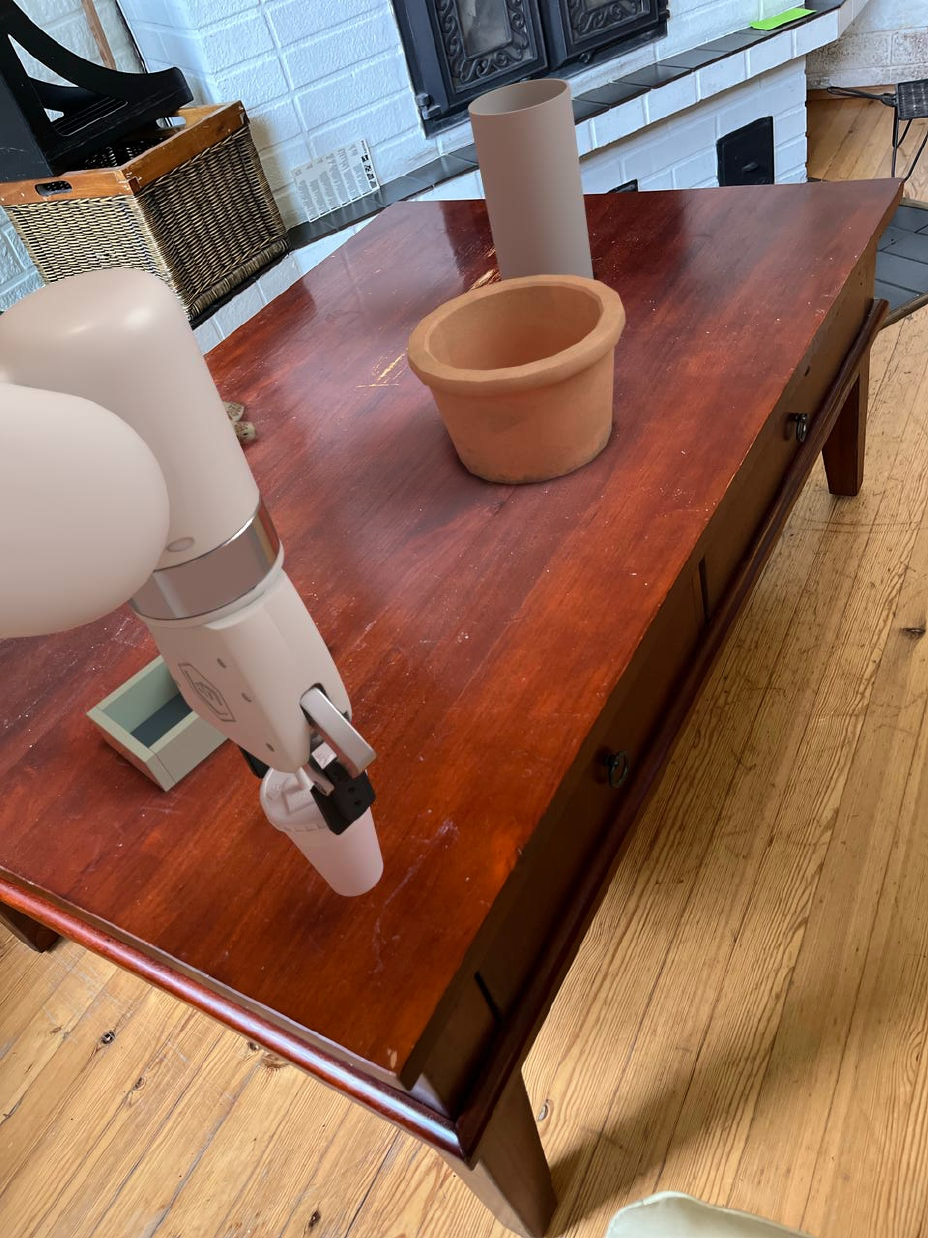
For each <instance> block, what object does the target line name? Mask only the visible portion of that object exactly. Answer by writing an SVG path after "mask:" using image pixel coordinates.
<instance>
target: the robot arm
mask: <svg viewBox="0 0 928 1238" xmlns="http://www.w3.org/2000/svg"><path fill="white" fill-rule="evenodd" d="M187 317H188V316H187V315H186V312H185V311H184V309H183V307H182V304H181V303H180V301H179V298H178V296H177V295H176V294H175V292H174V291H173V290H172V289H171V288H170V287H169V285H167V284H166V282H164V281H163V280H162V279H161V278H160V277H158V276H156V275H155V274H154V273H151V272H148V271H146V270H142V269H139V268H133V267H114V268H113V267H112V268H101V269H96V270H89V271H87V272H82V273H78V274H75V275H72V276H71V275H70V276H69V277H66V278H63V279H60V280H57V281H55V282H52V283H49V284H47V285H45V286H42V287H40V288H39V289H36V290H35V291H32V292H31V293H29V294H27V295H25V296H24V297H21V298H20V299H19V300H18V301H16V302H15V303H13V304H12V305H11V306H9V307H8V308H7V309H6V310H4V312H2V313H1V314H0V640H2V639H3V640H4V639H18V638H29V637H39V636H47V635H51V634H57V633H62V632H63V633H64V632H67V631H70V630H72V629H76V628H79V627H82V626H85V625H88V624H90V623H93V622H95V621H97V620H99V619H101V618H103V617H105V616H107V615H109V614H110V613H113V612H114V611H116V610H117V609H118V608H120V607H121V606H122V605H124V604H125V603H126V602H127V603H128V605H129V607H130V609H131V611H132V612H133V613H134V615H135V616H136V617H137V618H138V619H139V620H140V621H142V622H143V623H144V624H145V625H146V628H147V630H148V631H149V634H150V636H151V638H152V640H153V642H154V644H155V646H156V648H157V650H158V652H159V654H160V655H161V656H162V658H163V659H164V661H165V663H166V665H167V667H168V669H169V671H170V673H171V675H172V677H173V679H174V681H175V683H176V684H177V686H178V688H179V690H180V692H181V694H182V696H183V697H184V699H185V701H186V702H187V704H188V705H189V706H190V707H191V708H192V710H193V711H194V712H195V713H196V714H198V715H199V716H200V717H201V718H202V719H204V720H205V721H206V722H208V723H209V724H210V725H212V726H213V727H214V728H216V729H217V730H218V731H220V732H221V733H223V734H224V735H225V736H227V737H228V738H227V739H230V740H231V741H232V742H233V743H235V744H236V746H237V748H238V750H239V751H240V753H241V755H242V757H243V759H244V760H245V762H246V764H247V765H248V768H249V769H250V771H251V773H252V775H254V776H255V777H257V778H258V779H260V780H263V778H264V776H265V774H266V773H267V771H268V770H269V768H270V767H271V768H273V769H275V770H277V771H280V772H284V773H295V772H297V771H298V770H299V769H300V768H301V767H302V769H303V770H304V771H305V773H306V774H307V776H308V777H309V778H310V780H311V781H312V782H313V784H314V785H313V786H312V788H311V789H310V792H311V794H312V796H313V798H314V800H315V802H316V804H317V806H318V808H319V810H320V812H321V814H322V816H323V818H324V820H325V822H326V824H327V826H328V828H329V830H330V831H331V832H333V833H334V834H336V835H341V834H342V833H343V832H344V831H345V830H346V829H347V828H348V827H349V826H350V825H351V824H352V823H353V822H354V821H356V820H358V819H359V818H360V817H361V816H362V815H363V814H364V813H365V812H366V811H367V809H368V807H369V806H370V807H371V806H372V805H373V804H374V803H375V801H376V798H377V795H376V792H375V790H374V788H373V785H372V782H371V780H370V778H369V775H368V772H367V773H366V771H367V769H368V768H369V767H370V766H371V765H372V764H373V763H374V762H375V761H376V760H377V759H378V754H377V752H376V751H375V749H374V748H372V747H371V745H370V744H369V743H368V742H367V741H366V739H364V737H363V736H362V735H361V734H360V733H359V732H358V731H357V730H356V729H355V727H353V725H352V724H351V722H352V717H353V710H352V706H351V702H350V698H349V695H348V693H347V690H346V686H345V685H344V682H343V680H342V677H341V675H340V673H339V671H338V667H337V666H336V664H335V661H334V660H333V658H332V657H333V656H332V655H331V653H330V651H329V648H328V647H327V645H326V643H325V641H324V639H323V637H322V635H321V632H320V631H319V629H318V627H317V625H316V623H315V622H314V620H313V618H312V616H311V614H310V612H309V610H308V609H307V607H306V605H305V603H304V602H303V600H302V598H301V597H300V595H299V593H298V592H297V591H298V590H297V589H296V588H295V586H294V584H293V583H292V581H291V580H290V578H289V576H288V574H287V573H286V571H285V570H284V569H283V568H282V567H283V564H284V560H285V559H284V558H285V550H284V546H283V542H282V541H281V539H280V536H279V534H278V531H277V528H276V526H275V524H274V522H273V519H272V517H271V515H270V512H269V510H268V508H267V505H266V503H265V500H264V497H263V495H262V492H261V490H260V489H259V487H258V485H257V482H256V480H255V478H254V475H253V472H252V470H251V468H250V465H249V463H248V461H247V458H246V455H245V453H244V451H243V448H242V446H241V444H240V443H239V441H238V439H237V436H236V434H235V431H234V429H233V427H232V424H231V422H230V419H229V417H228V415H227V412H226V410H225V407H224V405H223V403H222V402H223V401H222V398H221V396H220V393H219V390H218V388H217V386H216V384H215V381H214V379H213V377H212V374H211V372H210V370H209V367H208V365H207V362H206V359H205V357H204V355H203V352H202V350H201V348H200V346H199V343H198V341H197V338H196V336H195V333H194V331H193V329H192V327H191V324H190V322H189V320H188V318H187ZM324 742H325V743H326V744H327V745H328V746H329V747H330V748H331V749H332V750H333V751H334V753H335V754H336V757H335V758H334V759H333V760H332V761H331V762H330V763H328V764H327V765H326V766H325V767H324V768H323V769H322V768H321V766H320V765H319V763H318V762H317V761H316V759H315V758H314V757H313V755H312V753H313V752H314V751H315V750H316V749H317V748H318V747H319V746H320V745H321V744H323V743H324ZM365 770H366V771H365ZM367 775H368V776H367Z"/></svg>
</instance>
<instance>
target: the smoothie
mask: <svg viewBox="0 0 928 1238" xmlns="http://www.w3.org/2000/svg"><path fill="white" fill-rule="evenodd" d="M312 755H313V757H314V758H315V759H316V761H317V762H318V763H319V765H320V766H321V768H322V769H323V768H324V767H325V766H326V765H327V764H328V763H330V762H331V761H332V760H333V759H334V758H335V757H336V754H335V753H334V751H333V750H332V749H331V748H330V747H329V746H328V745H327V744H326V743H325V742H324V743H323V744H321V745H320V746H319V747H318V748H317V749H316V750H315V751H314V752H313V753H312ZM365 771H366V773H367V776H368V777H369V775H368V772H367V769H366V770H365ZM313 785H314V784H313V782H312V781H311V780H310V778H309V777H308V776H307V774H306V773H305V771H304V770H303V769H302V767H301V768H300V769H299V770H298V771H297V772H295V773H284V772H280V771H277V770H275V769H273V768H271V767H270V768H269V770H268V771H267V773H266V774H265V776H264V778H262V780H261V784H260V788H259V801H260V806H261V808H262V810H263V812H264V814H265V816H266V818H267V821H268V822H269V823H270V824H271V825H272V826H273V827H274V828H275V829H277V831H280V832H283V833H285V835H287V837H288V838H289V839H290V840H291V841H292V842H293V844H294V845H295V846H296V847H297V849H298V850H299V851H300V852H301V853H302V854H303V855H304V856H305V858H306V859H307V860H308V861H309V863H310V864H311V865H312V866H313V867H314V869H315V870H316V871H317V872H318V873H319V874H320V875H321V877H322V879H324V880H325V881H326V883H327V885H328V886H329V887H330V888H331V889H332V890H333V891H334V892H335V893H336V894H339V895H341V896H344V897H356V896H361V895H363V894H365V893H367V892H369V891H370V890H372V889H373V888H374V887H375V886H376V885H377V884H378V882H379V881H380V879H381V877H382V875H383V872H384V862H383V857H382V853H381V849H380V843H379V840H378V835H377V831H376V828H375V822H374V818H373V814H372V811H371V806H369V807H368V809H367V811H366V812H365V813H364V814H363V815H362V816H361V817H360V818H359V819H358V820H356V821H354V822H353V823H352V824H351V825H350V826H349V827H348V828H347V829H346V830H345V831H344V832H343V833H342V834H341V835H336V834H334V833H333V832H331V831H330V830H329V828H328V826H327V824H326V822H325V820H324V818H323V816H322V814H321V812H320V810H319V808H318V806H317V804H316V802H315V800H314V798H313V796H312V794H311V792H310V789H311V788H312V786H313Z"/></svg>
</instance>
